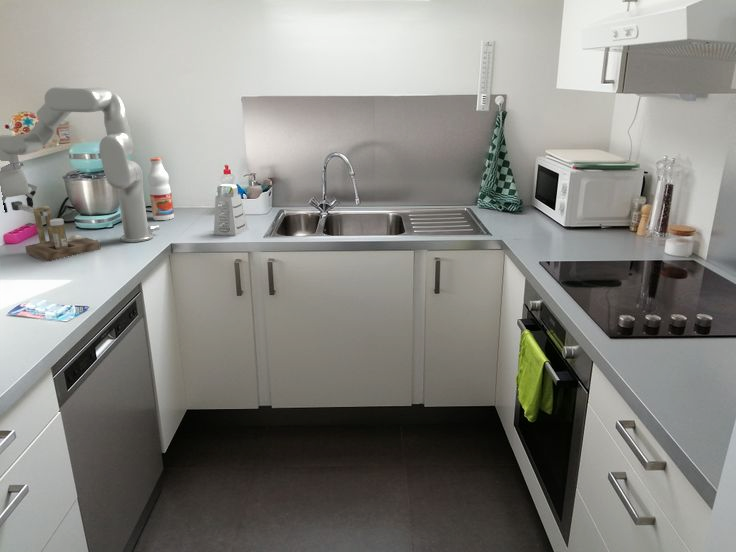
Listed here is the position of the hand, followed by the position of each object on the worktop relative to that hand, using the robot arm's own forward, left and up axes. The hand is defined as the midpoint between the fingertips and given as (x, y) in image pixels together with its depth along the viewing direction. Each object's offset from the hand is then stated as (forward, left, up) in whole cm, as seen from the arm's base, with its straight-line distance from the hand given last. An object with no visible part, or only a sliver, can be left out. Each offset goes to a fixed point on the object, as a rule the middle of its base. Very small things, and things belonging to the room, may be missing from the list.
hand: (18, 209), depth 238 cm
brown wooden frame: (-2, +30, -13) cm, 32 cm away
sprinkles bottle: (0, +33, -13) cm, 35 cm away
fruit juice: (-56, +14, -13) cm, 59 cm away
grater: (-59, +59, -13) cm, 84 cm away
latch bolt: (0, +12, 0) cm, 12 cm away
